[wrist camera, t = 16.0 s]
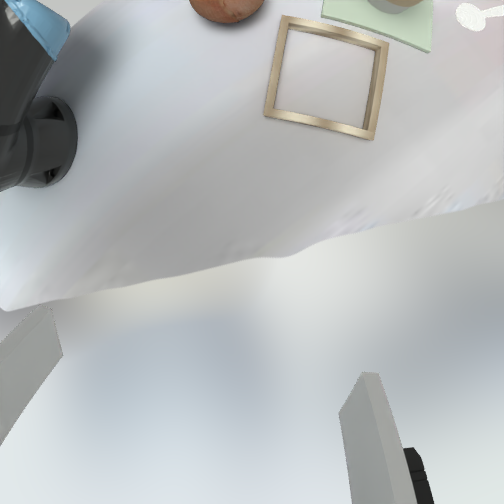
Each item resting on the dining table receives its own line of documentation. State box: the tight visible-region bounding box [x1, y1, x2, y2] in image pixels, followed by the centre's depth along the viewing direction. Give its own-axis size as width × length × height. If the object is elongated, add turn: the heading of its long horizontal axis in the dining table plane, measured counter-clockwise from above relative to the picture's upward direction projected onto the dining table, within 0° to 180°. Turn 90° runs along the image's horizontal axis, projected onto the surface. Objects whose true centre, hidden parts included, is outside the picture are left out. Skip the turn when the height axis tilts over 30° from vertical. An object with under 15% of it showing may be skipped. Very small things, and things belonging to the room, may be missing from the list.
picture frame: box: [263, 15, 389, 140], centre depth 32 cm, size 14×14×2 cm
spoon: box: [455, 3, 504, 31], centre depth 24 cm, size 5×18×1 cm, turn 121°
